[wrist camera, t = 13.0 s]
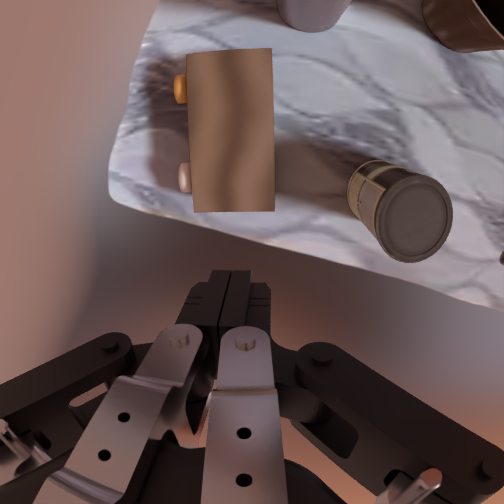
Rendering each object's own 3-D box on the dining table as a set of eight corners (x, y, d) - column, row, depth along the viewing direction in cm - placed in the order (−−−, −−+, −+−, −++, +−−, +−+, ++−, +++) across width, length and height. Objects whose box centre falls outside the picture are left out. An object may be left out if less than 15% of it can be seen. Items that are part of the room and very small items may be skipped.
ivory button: (188, 189, 40) (180, 195, 37) (186, 161, 39) (177, 165, 35) (234, 187, 40) (230, 194, 36) (232, 158, 38) (228, 162, 35)
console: (206, 197, 44) (193, 212, 37) (201, 66, 36) (186, 54, 29) (274, 196, 43) (274, 211, 36) (271, 62, 35) (271, 48, 28)
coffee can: (375, 145, 39) (418, 155, 26) (417, 190, 41) (466, 217, 28) (332, 195, 43) (357, 226, 30) (377, 236, 45) (412, 279, 32)
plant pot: (394, -21, 26) (436, -62, 12) (463, -13, 24) (513, -37, 9) (429, 64, 32) (491, 48, 18) (494, 64, 30) (554, 59, 15)
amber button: (183, 104, 36) (174, 102, 32) (182, 77, 34) (173, 72, 30) (231, 100, 35) (226, 97, 32) (230, 72, 34) (225, 67, 30)
